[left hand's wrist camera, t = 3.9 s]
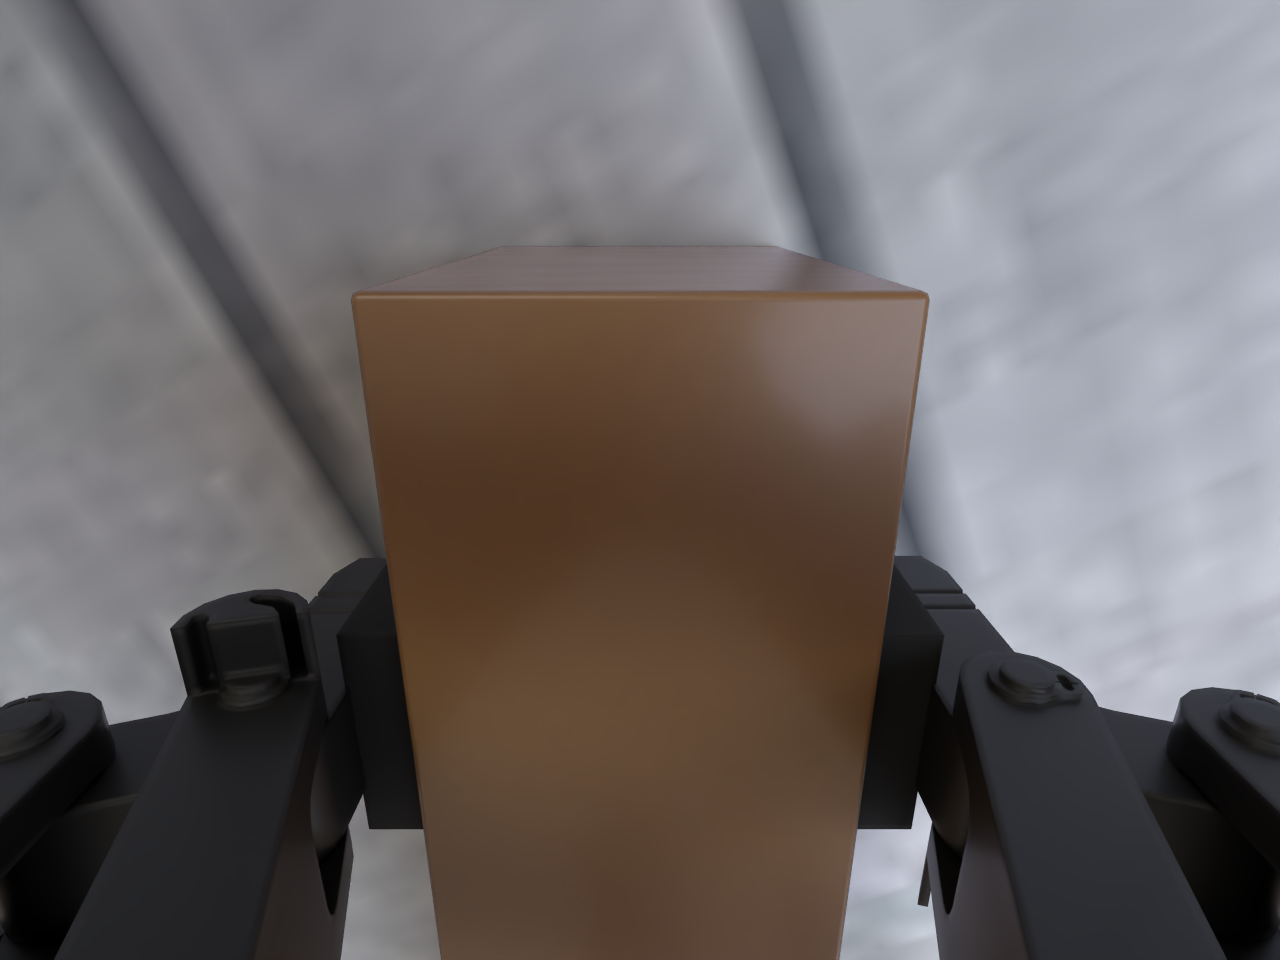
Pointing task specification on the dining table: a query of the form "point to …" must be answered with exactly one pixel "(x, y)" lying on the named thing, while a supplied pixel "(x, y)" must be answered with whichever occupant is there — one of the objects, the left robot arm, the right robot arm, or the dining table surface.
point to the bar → (640, 586)
